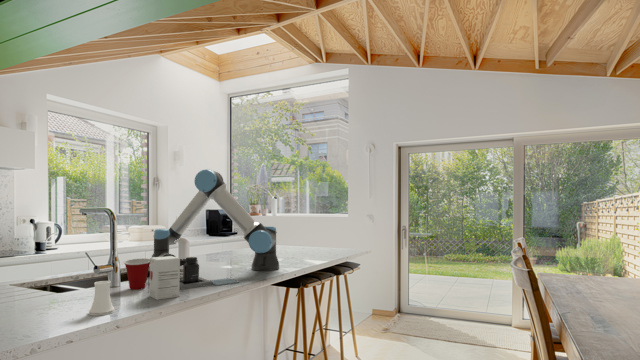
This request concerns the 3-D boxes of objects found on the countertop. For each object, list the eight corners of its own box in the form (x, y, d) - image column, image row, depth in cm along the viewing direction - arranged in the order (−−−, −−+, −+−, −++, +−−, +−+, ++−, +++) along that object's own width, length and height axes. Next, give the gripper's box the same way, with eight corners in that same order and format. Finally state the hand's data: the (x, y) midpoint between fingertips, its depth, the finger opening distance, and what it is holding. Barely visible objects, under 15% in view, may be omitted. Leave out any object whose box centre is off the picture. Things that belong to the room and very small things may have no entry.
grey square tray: (199, 280, 192) (199, 277, 192) (212, 284, 181) (212, 281, 181) (169, 284, 183) (169, 280, 183) (181, 289, 172) (181, 285, 173)
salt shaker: (101, 316, 131) (102, 284, 131) (83, 314, 133) (84, 283, 134) (119, 310, 138) (120, 280, 139) (102, 309, 140) (102, 279, 141)
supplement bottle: (196, 286, 179) (196, 258, 180) (180, 286, 179) (180, 258, 180) (200, 283, 186) (201, 256, 186) (185, 283, 186) (186, 256, 187)
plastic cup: (118, 291, 168) (119, 262, 169) (129, 286, 179) (130, 258, 180) (145, 291, 169) (145, 261, 169) (154, 286, 179) (155, 258, 180)
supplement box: (148, 296, 160) (149, 257, 161) (171, 292, 166) (172, 255, 166) (155, 300, 153) (156, 259, 154) (179, 296, 159) (180, 257, 159)
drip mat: (228, 279, 195) (228, 278, 195) (239, 282, 186) (239, 281, 186) (206, 282, 188) (206, 280, 188) (216, 285, 179) (216, 284, 179)
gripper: (191, 266, 214) (208, 271, 198) (141, 271, 198) (155, 277, 182) (191, 251, 215) (208, 255, 198) (141, 255, 199) (155, 260, 182)
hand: (183, 266), depth 190 cm, fingers open, 13 cm apart
